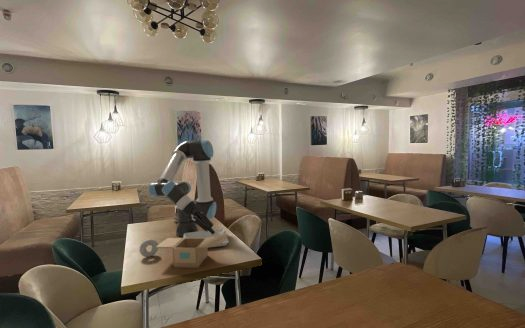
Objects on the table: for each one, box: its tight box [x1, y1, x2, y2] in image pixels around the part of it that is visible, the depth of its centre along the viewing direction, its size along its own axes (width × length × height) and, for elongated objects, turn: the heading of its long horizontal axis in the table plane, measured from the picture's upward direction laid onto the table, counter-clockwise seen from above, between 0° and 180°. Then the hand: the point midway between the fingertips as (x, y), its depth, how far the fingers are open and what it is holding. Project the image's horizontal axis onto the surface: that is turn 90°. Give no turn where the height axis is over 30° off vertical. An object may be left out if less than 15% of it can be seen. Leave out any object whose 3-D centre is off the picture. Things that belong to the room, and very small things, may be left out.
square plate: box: [182, 228, 229, 249], centre depth 170 cm, size 27×27×4 cm
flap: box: [199, 233, 229, 248], centre depth 140 cm, size 13×12×1 cm
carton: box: [156, 237, 209, 269], centre depth 142 cm, size 16×22×10 cm
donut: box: [139, 238, 159, 258], centre depth 150 cm, size 10×4×10 cm, turn 124°
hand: (219, 237), depth 139 cm, fingers closed
